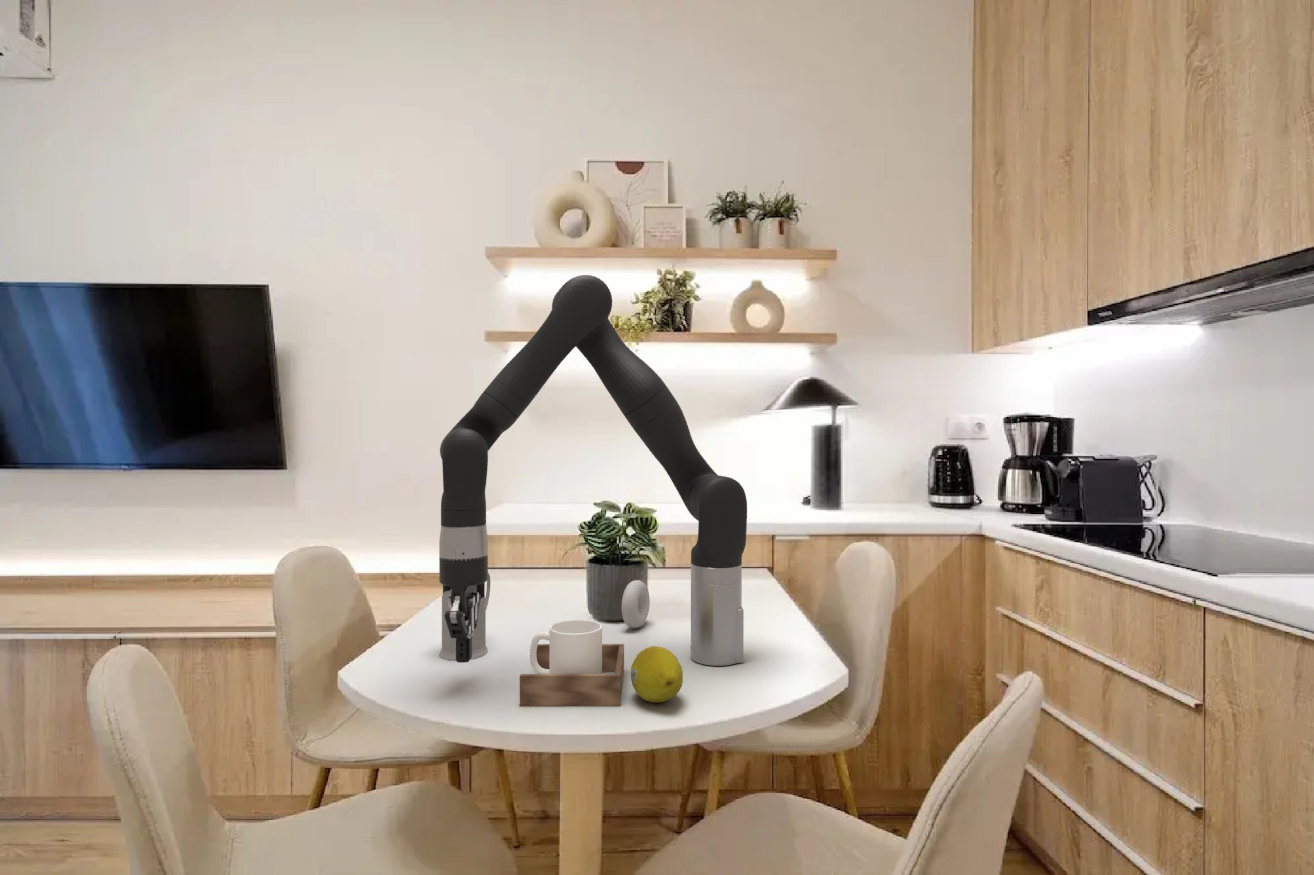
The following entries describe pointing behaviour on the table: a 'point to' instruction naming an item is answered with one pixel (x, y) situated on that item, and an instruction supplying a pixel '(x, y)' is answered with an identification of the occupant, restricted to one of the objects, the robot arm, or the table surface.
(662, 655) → the lemon
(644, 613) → the donut
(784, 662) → the table surface
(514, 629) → the table surface
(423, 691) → the table surface
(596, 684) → the wooden box
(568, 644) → the cup
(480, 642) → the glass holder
